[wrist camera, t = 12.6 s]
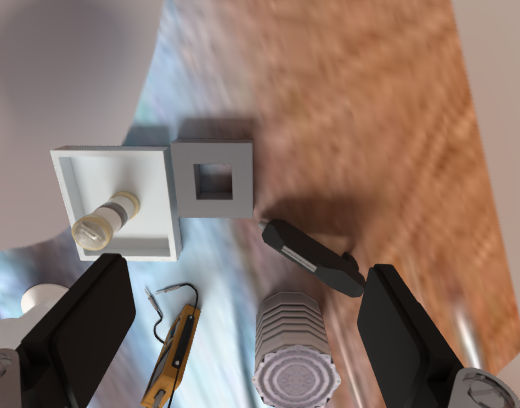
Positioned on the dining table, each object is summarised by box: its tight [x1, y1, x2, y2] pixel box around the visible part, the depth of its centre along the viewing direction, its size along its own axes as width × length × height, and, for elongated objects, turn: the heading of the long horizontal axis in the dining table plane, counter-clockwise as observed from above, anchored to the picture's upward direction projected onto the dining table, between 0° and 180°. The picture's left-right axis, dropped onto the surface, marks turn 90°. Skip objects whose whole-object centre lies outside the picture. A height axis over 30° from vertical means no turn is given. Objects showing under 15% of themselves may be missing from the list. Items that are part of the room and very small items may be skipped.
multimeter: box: [141, 284, 201, 408], centre depth 39 cm, size 15×10×20 cm
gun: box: [258, 219, 366, 298], centre depth 40 cm, size 3×16×10 cm, turn 66°
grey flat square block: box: [170, 139, 254, 218], centre depth 38 cm, size 10×10×3 cm
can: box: [252, 291, 341, 408], centre depth 43 cm, size 11×11×12 cm
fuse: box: [72, 191, 140, 250], centre depth 36 cm, size 4×4×9 cm
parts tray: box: [50, 146, 182, 261], centre depth 39 cm, size 16×14×3 cm
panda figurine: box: [0, 284, 69, 350], centre depth 42 cm, size 12×11×15 cm
